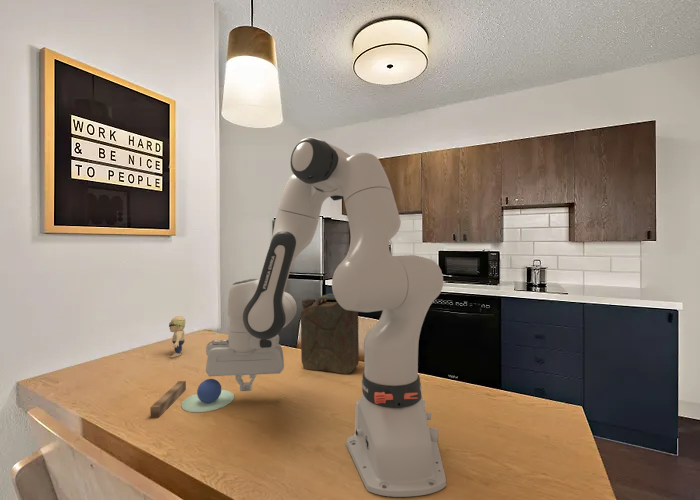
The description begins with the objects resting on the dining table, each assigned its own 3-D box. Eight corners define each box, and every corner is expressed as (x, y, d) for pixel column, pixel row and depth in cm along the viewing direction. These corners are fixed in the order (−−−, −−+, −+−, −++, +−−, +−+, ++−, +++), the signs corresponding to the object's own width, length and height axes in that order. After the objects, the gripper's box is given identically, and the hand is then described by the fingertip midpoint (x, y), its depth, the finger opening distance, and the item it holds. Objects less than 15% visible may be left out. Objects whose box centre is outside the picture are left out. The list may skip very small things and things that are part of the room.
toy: (172, 351, 135) (172, 313, 135) (188, 349, 137) (187, 312, 137) (165, 361, 123) (165, 320, 123) (182, 359, 125) (182, 319, 125)
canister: (360, 367, 115) (359, 293, 115) (352, 376, 107) (351, 297, 107) (310, 361, 122) (309, 291, 121) (299, 369, 114) (298, 295, 113)
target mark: (226, 411, 85) (226, 410, 85) (172, 413, 84) (172, 412, 84) (239, 389, 98) (239, 388, 98) (192, 391, 97) (192, 390, 97)
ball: (191, 394, 86) (202, 412, 88) (214, 382, 87) (225, 400, 89) (194, 381, 91) (205, 398, 93) (215, 370, 93) (225, 387, 94)
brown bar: (159, 417, 82) (158, 406, 82) (150, 417, 82) (150, 407, 82) (185, 389, 98) (185, 380, 98) (178, 389, 98) (178, 381, 98)
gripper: (201, 343, 88) (202, 397, 88) (281, 341, 89) (282, 393, 89) (209, 337, 94) (210, 386, 94) (284, 335, 96) (285, 383, 96)
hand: (246, 390), depth 92 cm, fingers closed
